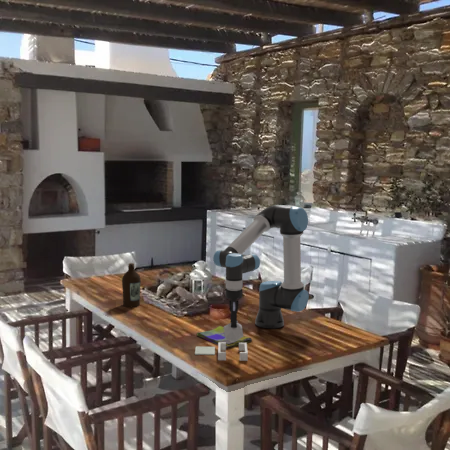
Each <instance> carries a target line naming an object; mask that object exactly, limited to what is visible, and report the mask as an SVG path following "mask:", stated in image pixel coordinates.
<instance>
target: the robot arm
mask: <svg viewBox="0 0 450 450" xmlns="http://www.w3.org/2000/svg"><path fill="white" fill-rule="evenodd" d="M308 225H309V215H308V213H307V211H306V210H305V209H304V208H302V207H300V206H296V205H283V204H273V205H270V206H268V207H266V208H264V209H263V210H261V211H260V212H259V213H257V215H255V216H254V217H253V221H252V222H251V223H250V224H249V225H248V226H247V227H246V228H245V229H244V230H243V231H242V232H241V233H240V234H239V235H238V236H237V237H236V238H235V239H234V240H233V241H232V242H231V243H230V244H229V245H228V246H227V247H226V248H224V250H222V249H221V250H217V251H215V252H214V254H213V257H212V258H213V263H214V265H215V266H218V267H221V268H225V281H224V282H223V283H224V284H225V288H226V289H225V299H229V301H228V302H229V312H230V323H231V328H237V323H239V321H238V319H237V318H238V311H239V310H238V309H239V307H238V306H239V300H240V299H242V298H243V287H244V285H243V282H244V281H243V280H244V279H243V275H244V274H246V273H249V272H250V273H251V272H253V271H256V270H258V269H259V268H260V266H261V260H260V258H259V256H258V255H257V254H255V253H250V254H244V253H245V252H246V251H247V250H248V249H249V248H250V247H251V246H252V245H253V244H254V243H255V242H256V241H257V240H258V239H259V238H260V237H261V236H262V235H263V233H266V232H268V231H269V230H270V229H273V228H277V229H279V233H280V235H281V236H282V240H283V244H282V245H283V247H282V248H283V282H282V281H280V280H269V281H268V280H267V281H263V282H260V285H259V289H258V294H259V296H258V297H259V298H258V299H259V300H258V311H257V314H256V317H255V321H254V322H255V326H257V327H259V328H263V329H279V328H282V327H284V326H285V321H284V316H283V313H282V310H283V309H284V310H287V311H291V312H298V313H299V312H302V311H303V310H305V308H306V307H307V304H308V301H309V298H310V297H309V295H310V294H309V291H308V290H307V289H305V285H304V283H303V282H302V267H301V264H302V262H301V261H302V260H301V258H302V257H301V251H302V250H301V248H302V247H301V236H302V235H303V234H304V232H305V230H307V228H308ZM229 327H230V326H229Z"/></svg>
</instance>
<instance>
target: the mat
mask: <svg viewBox="0 0 450 450" xmlns="http://www.w3.org/2000/svg"><path fill="white" fill-rule="evenodd" d="M194 350H195V351H194V356H198V355H201V356H202V355H203V356H215V355H216V346H199V345H198V346H197V345H196V346H195V349H194Z"/></svg>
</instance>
